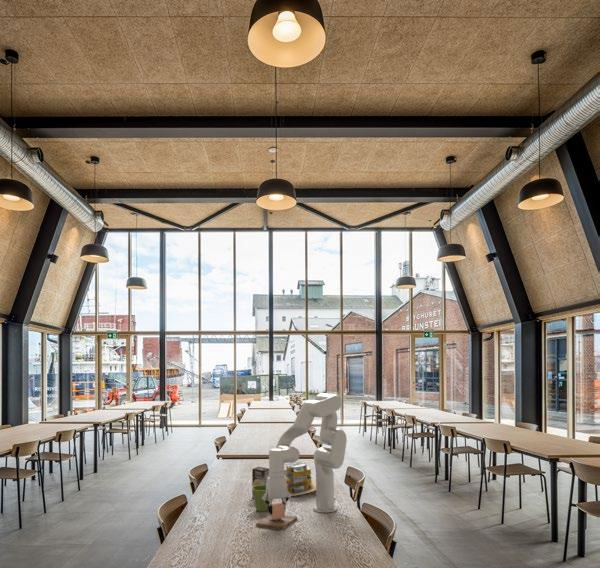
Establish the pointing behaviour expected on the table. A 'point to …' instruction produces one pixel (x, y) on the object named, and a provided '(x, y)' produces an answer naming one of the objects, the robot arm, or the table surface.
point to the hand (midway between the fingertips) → (276, 512)
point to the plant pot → (260, 497)
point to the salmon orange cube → (277, 510)
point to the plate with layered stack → (299, 478)
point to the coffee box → (259, 477)
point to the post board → (276, 522)
